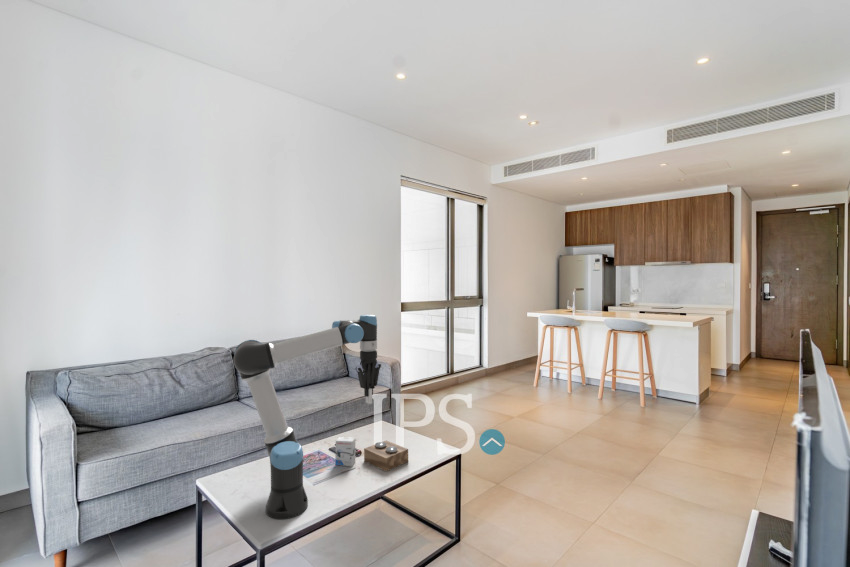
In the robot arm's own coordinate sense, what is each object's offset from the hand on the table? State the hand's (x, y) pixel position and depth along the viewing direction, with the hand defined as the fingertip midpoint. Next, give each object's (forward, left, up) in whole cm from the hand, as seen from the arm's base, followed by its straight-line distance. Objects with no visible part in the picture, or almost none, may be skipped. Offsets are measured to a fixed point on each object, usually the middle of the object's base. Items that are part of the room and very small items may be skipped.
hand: (368, 403), depth 185 cm
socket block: (+15, +6, -32) cm, 36 cm away
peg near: (+15, +2, -32) cm, 36 cm away
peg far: (+15, +10, -32) cm, 37 cm away
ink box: (0, +18, -33) cm, 37 cm away
